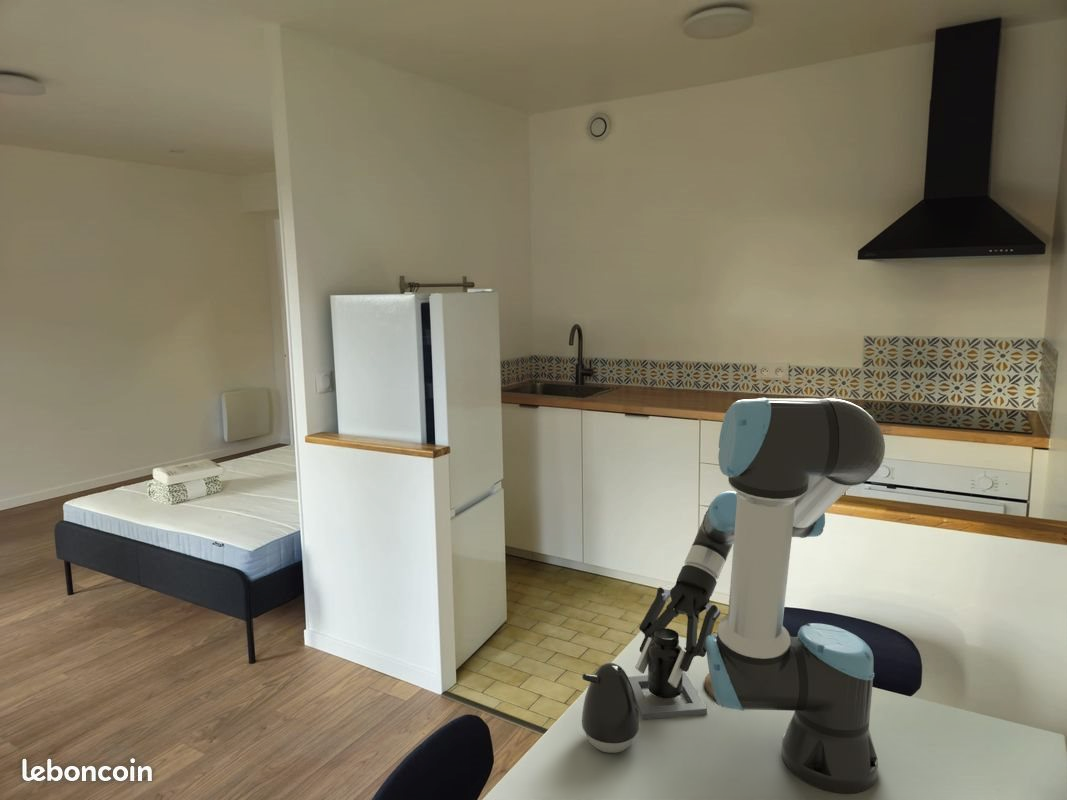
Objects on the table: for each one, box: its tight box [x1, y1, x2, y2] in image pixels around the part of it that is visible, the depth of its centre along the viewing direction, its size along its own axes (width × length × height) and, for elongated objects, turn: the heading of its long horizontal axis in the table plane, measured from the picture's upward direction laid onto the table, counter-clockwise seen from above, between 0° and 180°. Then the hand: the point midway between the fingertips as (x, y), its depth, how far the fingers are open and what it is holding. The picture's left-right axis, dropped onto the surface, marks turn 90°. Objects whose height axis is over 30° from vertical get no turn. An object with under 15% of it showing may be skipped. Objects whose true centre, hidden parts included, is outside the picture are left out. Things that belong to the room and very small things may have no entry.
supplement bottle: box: [647, 627, 683, 700], centre depth 137 cm, size 7×7×12 cm
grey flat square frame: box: [628, 671, 708, 721], centre depth 138 cm, size 13×13×1 cm
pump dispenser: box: [581, 662, 640, 754], centre depth 123 cm, size 10×10×15 cm
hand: (655, 677), depth 135 cm, fingers closed on supplement bottle, 7 cm apart
